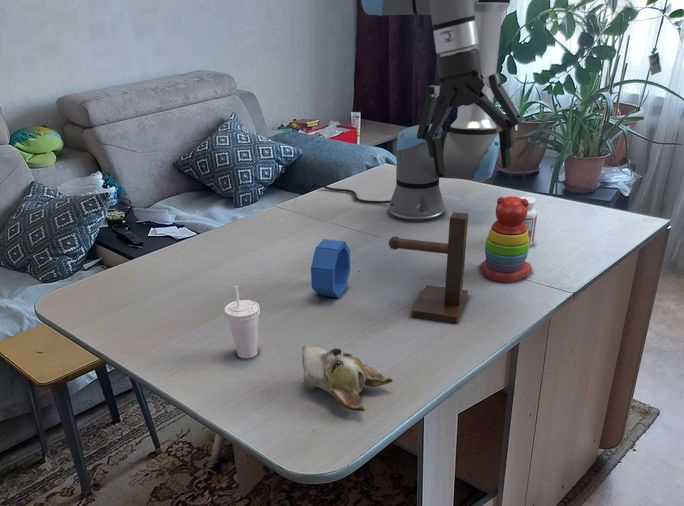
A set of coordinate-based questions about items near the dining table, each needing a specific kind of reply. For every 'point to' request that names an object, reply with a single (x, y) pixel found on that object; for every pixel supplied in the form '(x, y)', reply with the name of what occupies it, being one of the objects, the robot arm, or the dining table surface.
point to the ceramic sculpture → (339, 375)
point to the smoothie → (243, 325)
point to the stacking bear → (508, 242)
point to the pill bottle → (530, 218)
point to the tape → (330, 268)
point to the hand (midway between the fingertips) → (472, 169)
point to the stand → (451, 297)
